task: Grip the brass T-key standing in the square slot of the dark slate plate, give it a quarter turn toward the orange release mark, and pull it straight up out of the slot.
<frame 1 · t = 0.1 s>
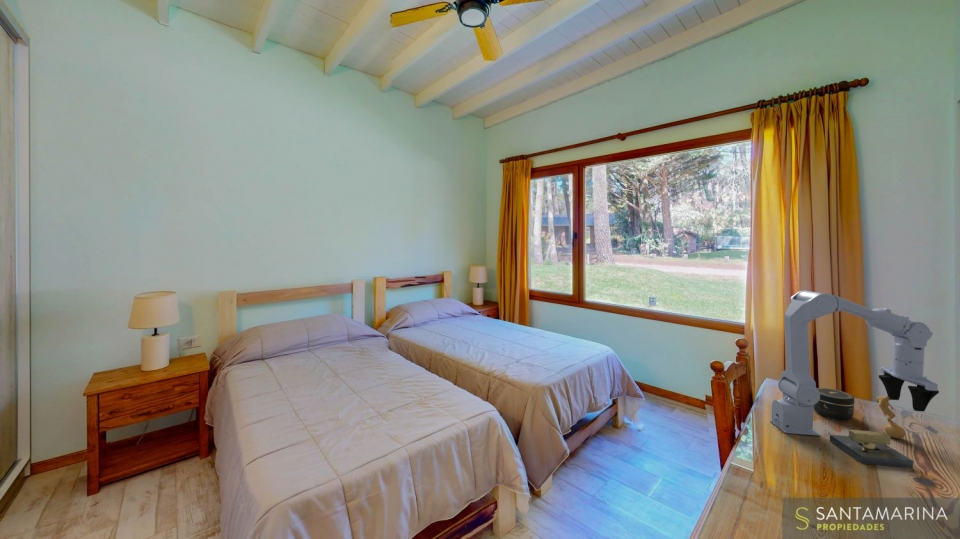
hand: (905, 404, 103), 10 cm above the table, tool pointing down, fingers open, 7 cm apart
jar: (832, 415, 119), on the table
figurine: (889, 436, 105), on the table
t key: (868, 443, 96), in the key plate
key plate: (868, 453, 96), on the table
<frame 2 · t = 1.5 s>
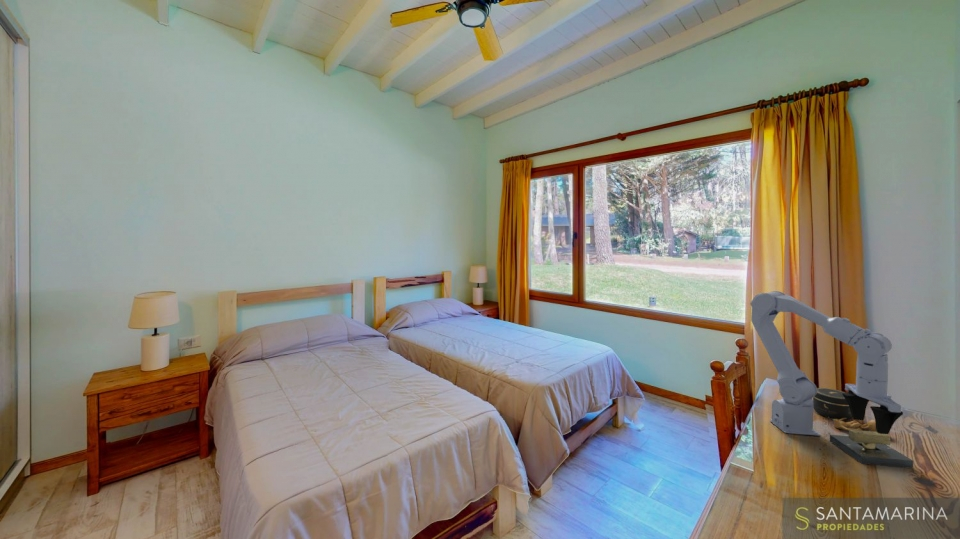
hand: (869, 426, 96), 8 cm above the table, tool pointing down, fingers open, 7 cm apart
figurine: (885, 432, 106), point 1 cm above the table
everything else where it was.
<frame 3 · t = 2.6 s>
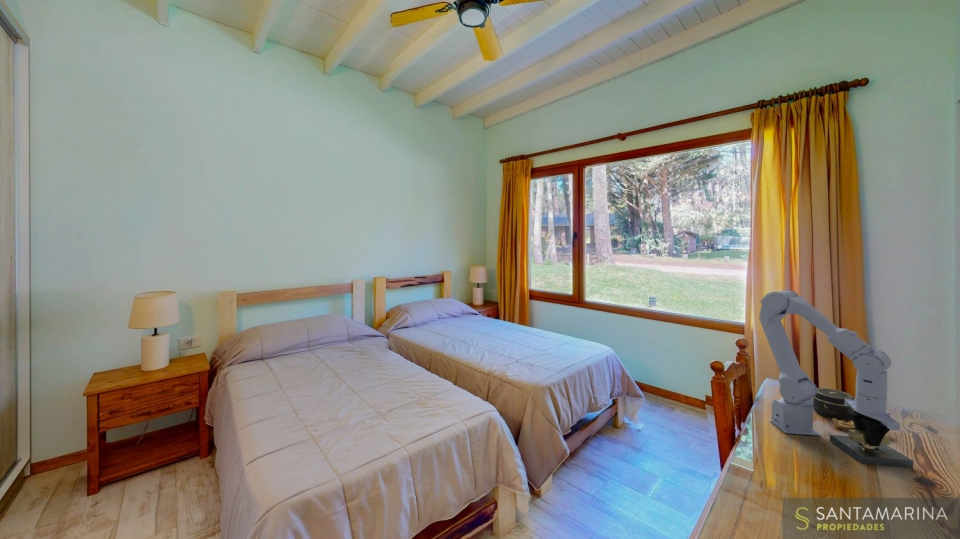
hand: (868, 442, 96), 3 cm above the table, tool pointing down, fingers closed on t key, 2 cm apart
t key: (868, 443, 96), in the key plate, touching gripper
everything else where it was.
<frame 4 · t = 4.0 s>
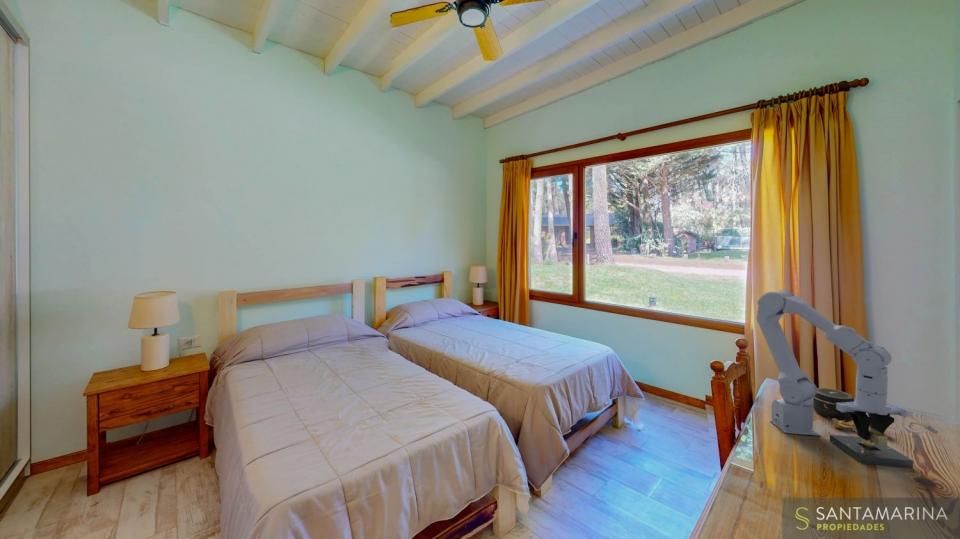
hand: (869, 438, 96), 4 cm above the table, tool pointing down, fingers closed on t key, 2 cm apart
t key: (869, 439, 96), point 4 cm above the table, touching gripper
everything else where it was.
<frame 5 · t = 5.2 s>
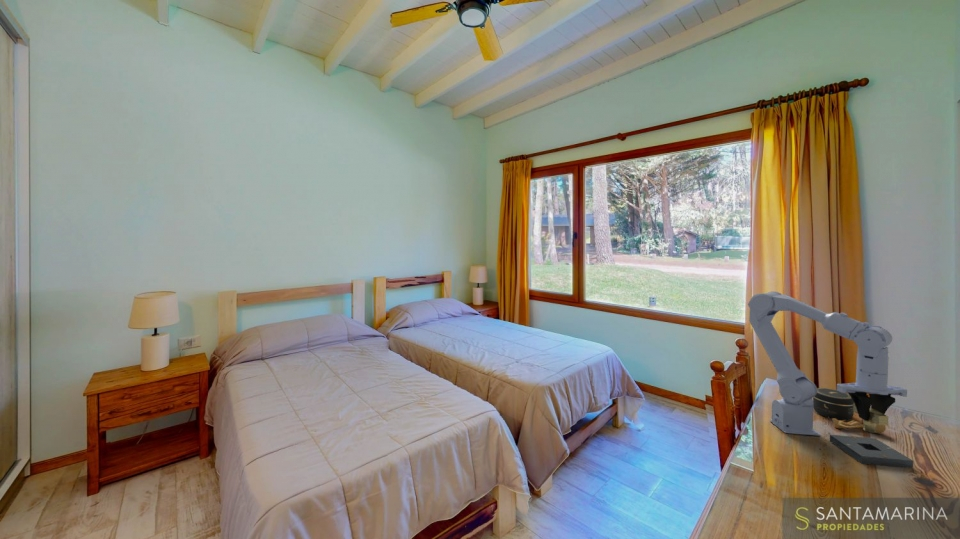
hand: (869, 419, 96), 10 cm above the table, tool pointing down, fingers closed on t key, 2 cm apart
t key: (869, 419, 96), point 10 cm above the table, touching gripper
everything else where it was.
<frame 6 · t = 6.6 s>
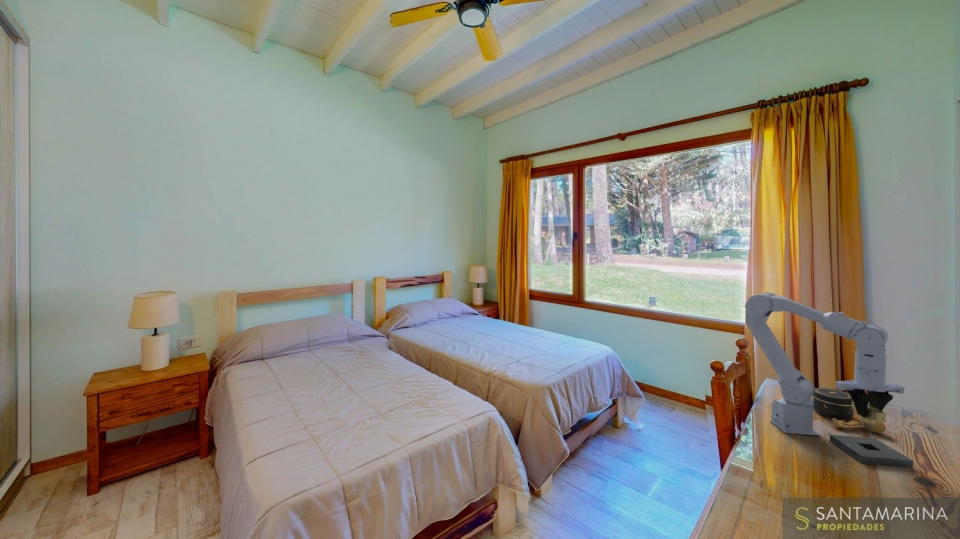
hand: (867, 416, 97), 10 cm above the table, tool pointing down, fingers closed on t key, 2 cm apart
t key: (867, 416, 97), point 10 cm above the table, touching gripper
everything else where it was.
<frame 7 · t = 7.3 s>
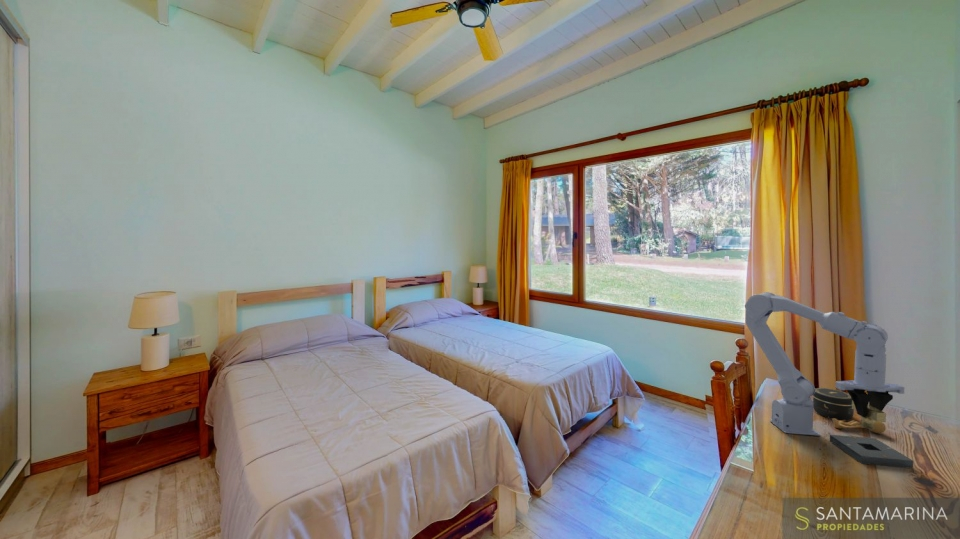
hand: (867, 416, 97), 10 cm above the table, tool pointing down, fingers closed on t key, 2 cm apart
t key: (867, 416, 97), point 10 cm above the table, touching gripper
everything else where it was.
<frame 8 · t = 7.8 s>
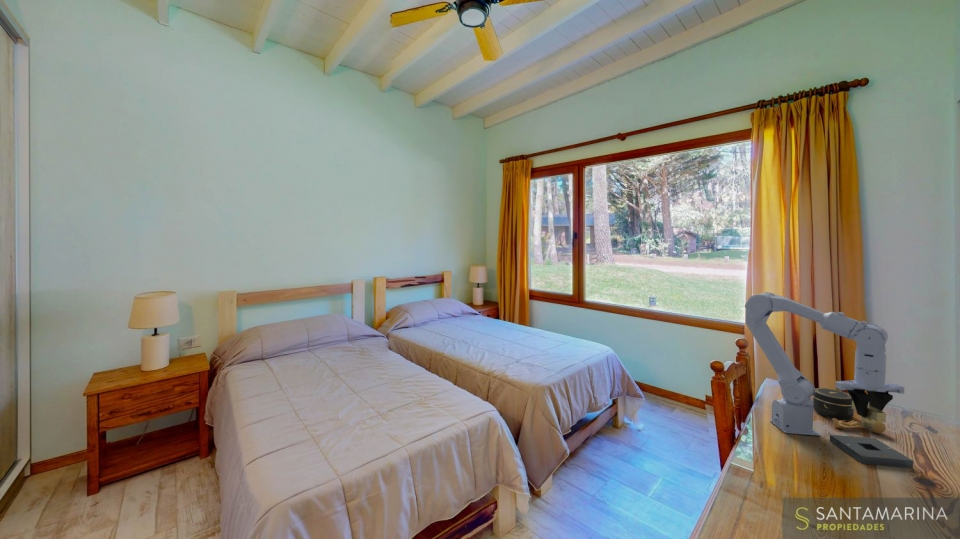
hand: (867, 416, 97), 10 cm above the table, tool pointing down, fingers closed on t key, 2 cm apart
t key: (867, 416, 97), point 10 cm above the table, touching gripper
everything else where it was.
at the end: t key point 9.7 cm above the table; the gripper is holding t key; t key 2.2 cm from the key plate (horizontally) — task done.
